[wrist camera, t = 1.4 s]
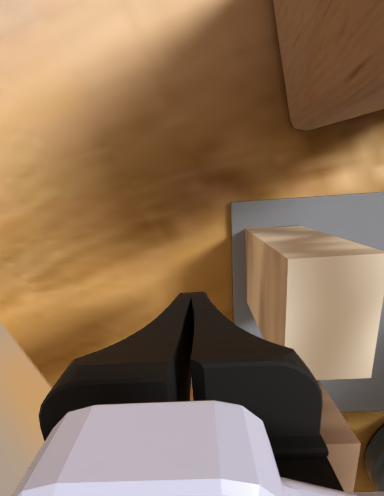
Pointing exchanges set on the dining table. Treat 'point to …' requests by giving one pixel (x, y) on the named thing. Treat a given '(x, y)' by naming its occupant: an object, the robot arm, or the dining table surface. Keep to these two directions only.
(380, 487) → the canister
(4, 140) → the dining table surface
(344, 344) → the ash block
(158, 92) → the dining table surface
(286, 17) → the wooden block
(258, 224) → the felt mat
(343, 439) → the walnut block
